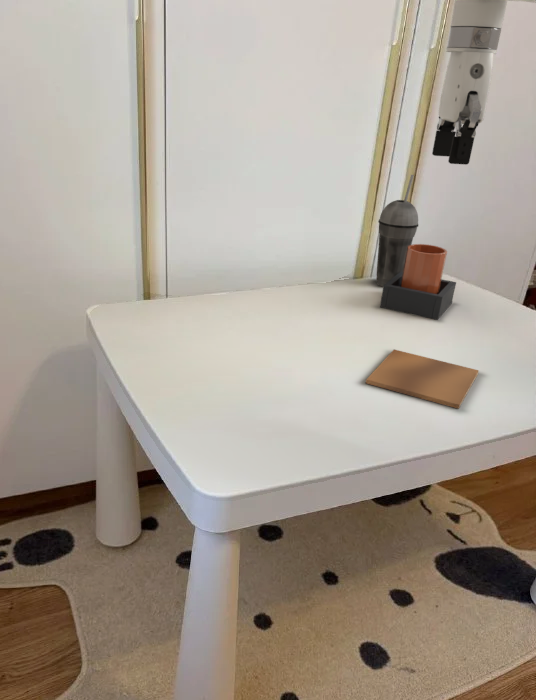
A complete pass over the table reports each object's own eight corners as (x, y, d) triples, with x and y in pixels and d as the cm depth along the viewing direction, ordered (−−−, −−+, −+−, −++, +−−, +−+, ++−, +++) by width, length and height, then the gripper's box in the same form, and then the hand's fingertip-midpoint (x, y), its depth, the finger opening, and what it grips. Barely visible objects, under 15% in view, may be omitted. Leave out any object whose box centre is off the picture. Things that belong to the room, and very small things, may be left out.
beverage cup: (362, 278, 123) (378, 171, 114) (396, 277, 125) (415, 171, 116) (378, 290, 117) (397, 177, 108) (414, 289, 119) (435, 178, 110)
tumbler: (439, 304, 112) (450, 248, 107) (429, 314, 107) (441, 256, 102) (403, 297, 115) (413, 242, 110) (393, 306, 110) (403, 249, 105)
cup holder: (451, 303, 113) (456, 282, 111) (437, 320, 105) (442, 297, 103) (397, 292, 117) (400, 271, 115) (379, 307, 109) (383, 284, 107)
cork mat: (478, 374, 87) (479, 370, 86) (458, 409, 77) (459, 404, 77) (393, 352, 92) (393, 349, 91) (365, 383, 82) (366, 379, 82)
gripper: (518, 42, 90) (489, 168, 98) (478, 45, 105) (456, 154, 113) (466, 39, 90) (441, 166, 98) (433, 42, 105) (414, 152, 113)
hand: (449, 159), depth 106 cm, fingers open, 9 cm apart
